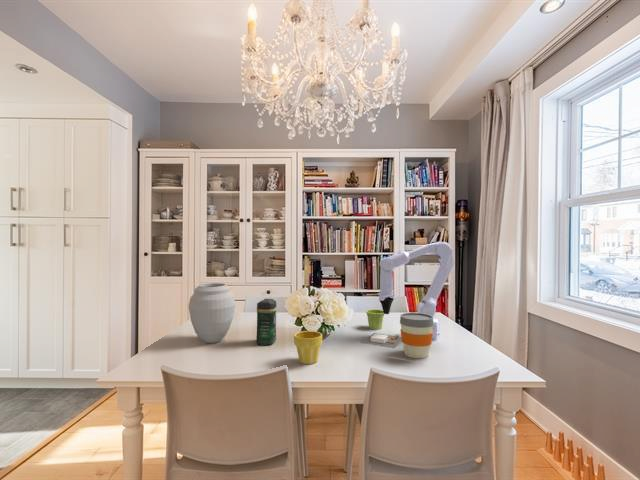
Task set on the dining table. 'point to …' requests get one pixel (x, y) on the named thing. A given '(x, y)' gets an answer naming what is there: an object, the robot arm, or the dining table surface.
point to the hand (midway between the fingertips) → (386, 313)
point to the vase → (211, 311)
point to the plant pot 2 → (375, 318)
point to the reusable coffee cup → (416, 334)
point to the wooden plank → (393, 339)
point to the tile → (379, 338)
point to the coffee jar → (266, 322)
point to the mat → (368, 341)
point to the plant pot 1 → (308, 346)
